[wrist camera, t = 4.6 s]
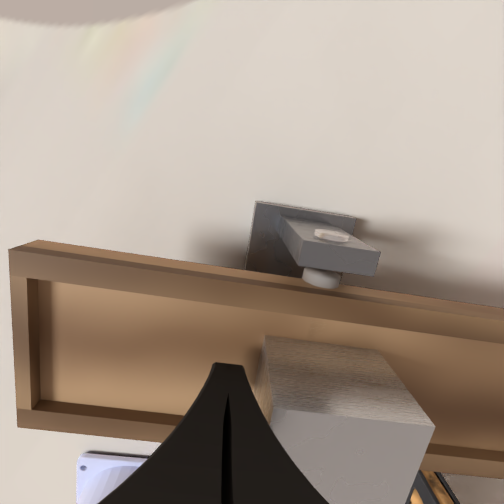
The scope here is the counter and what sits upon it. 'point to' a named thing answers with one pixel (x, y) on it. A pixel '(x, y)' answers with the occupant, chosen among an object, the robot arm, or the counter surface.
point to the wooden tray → (234, 344)
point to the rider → (343, 419)
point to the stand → (305, 242)
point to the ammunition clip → (430, 489)
